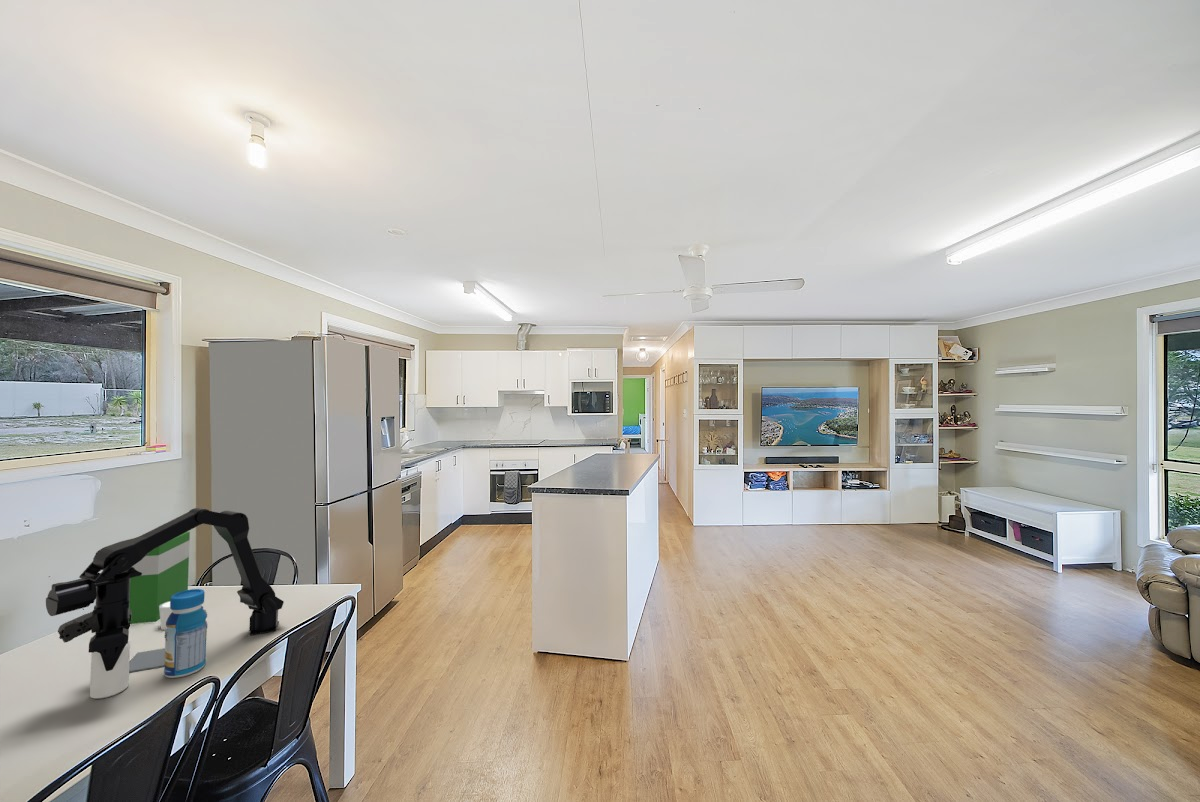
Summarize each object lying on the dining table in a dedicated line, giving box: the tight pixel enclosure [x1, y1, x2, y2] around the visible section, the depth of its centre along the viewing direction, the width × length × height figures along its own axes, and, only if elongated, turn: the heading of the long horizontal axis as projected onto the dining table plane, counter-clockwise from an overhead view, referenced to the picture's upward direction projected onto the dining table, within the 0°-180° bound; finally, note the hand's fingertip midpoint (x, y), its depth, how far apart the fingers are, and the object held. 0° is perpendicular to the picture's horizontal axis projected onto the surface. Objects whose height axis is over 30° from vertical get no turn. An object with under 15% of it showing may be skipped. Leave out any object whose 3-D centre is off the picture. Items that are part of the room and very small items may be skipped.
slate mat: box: [129, 647, 165, 674], centre depth 127 cm, size 11×11×1 cm
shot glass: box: [159, 601, 173, 631], centre depth 146 cm, size 7×7×7 cm
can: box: [89, 640, 131, 700], centre depth 112 cm, size 6×6×12 cm
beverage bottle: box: [163, 588, 209, 679], centre depth 122 cm, size 8×8×20 cm
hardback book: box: [129, 531, 191, 625], centre depth 156 cm, size 18×7×24 cm, turn 17°
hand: (110, 664), depth 112 cm, fingers closed on can, 6 cm apart
